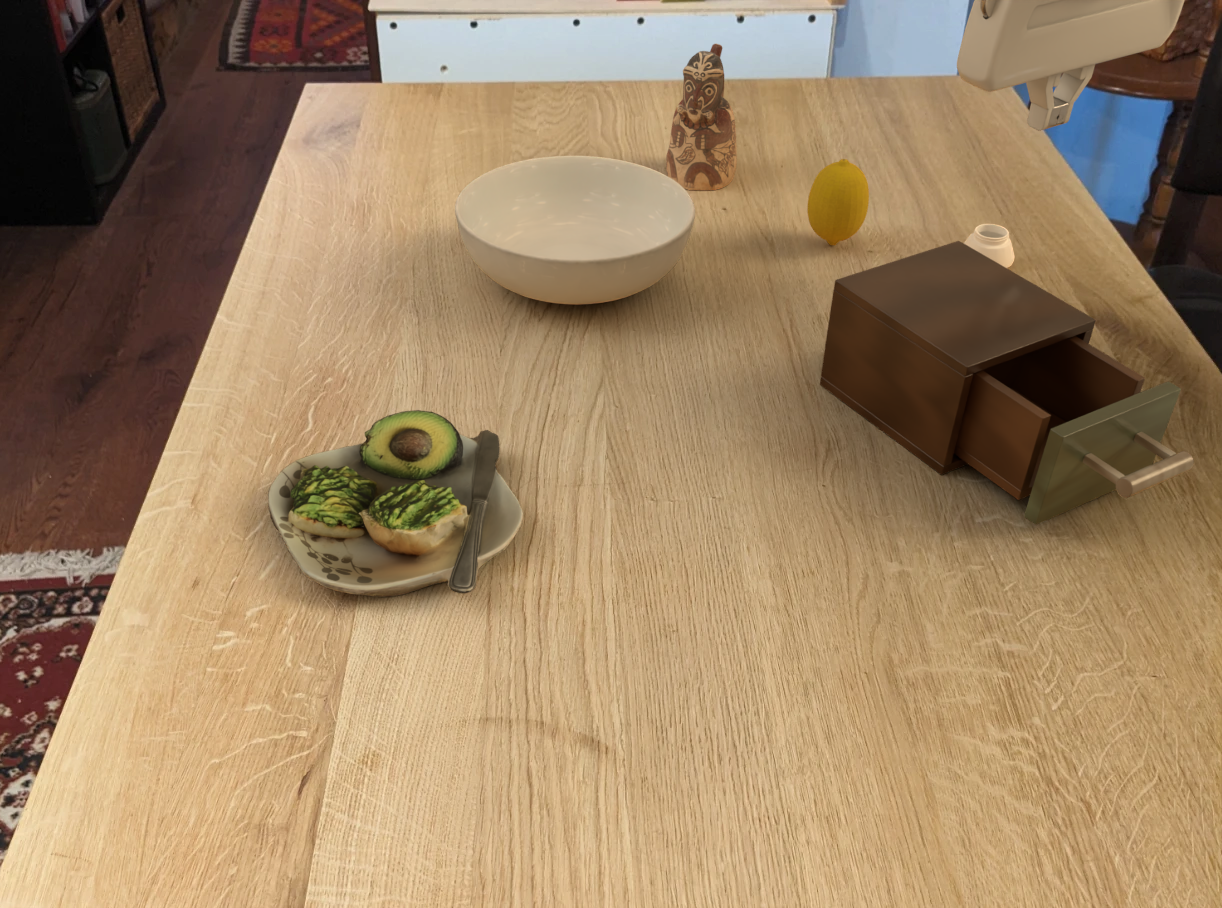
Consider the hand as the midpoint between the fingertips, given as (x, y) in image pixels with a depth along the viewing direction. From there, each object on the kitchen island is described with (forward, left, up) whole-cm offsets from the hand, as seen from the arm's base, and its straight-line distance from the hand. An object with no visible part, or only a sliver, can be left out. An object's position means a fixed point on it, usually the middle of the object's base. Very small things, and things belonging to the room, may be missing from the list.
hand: (1046, 125), depth 101 cm
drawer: (+16, +21, -15) cm, 30 cm away
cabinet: (+16, +9, -16) cm, 24 cm away
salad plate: (+59, 0, -16) cm, 61 cm away
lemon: (+6, -17, -16) cm, 24 cm away
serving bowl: (+30, -24, -16) cm, 41 cm away
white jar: (-4, -7, -16) cm, 18 cm away
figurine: (+8, -36, -16) cm, 40 cm away
